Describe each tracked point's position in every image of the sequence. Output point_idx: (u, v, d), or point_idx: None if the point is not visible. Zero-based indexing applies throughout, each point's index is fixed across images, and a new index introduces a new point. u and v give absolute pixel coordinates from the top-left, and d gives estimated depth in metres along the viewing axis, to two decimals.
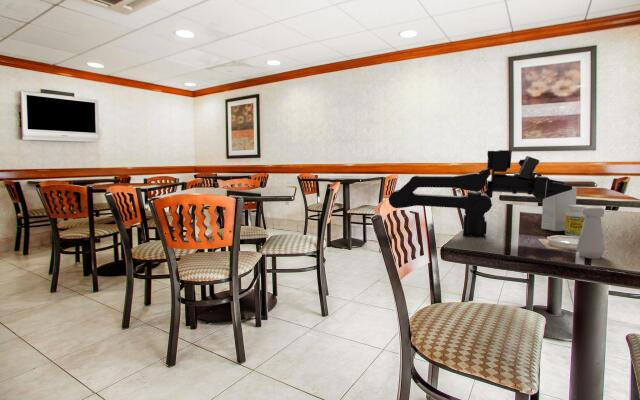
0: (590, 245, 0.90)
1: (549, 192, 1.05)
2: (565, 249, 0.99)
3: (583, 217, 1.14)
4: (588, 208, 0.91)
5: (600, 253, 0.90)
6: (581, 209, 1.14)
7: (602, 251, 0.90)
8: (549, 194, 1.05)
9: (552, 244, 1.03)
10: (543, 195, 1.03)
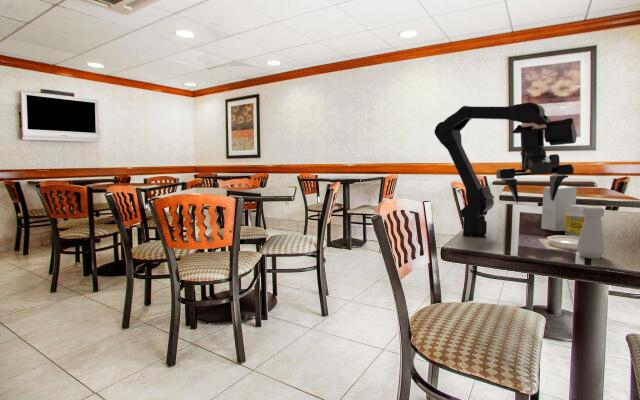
0: (590, 245, 0.90)
1: (508, 182, 1.09)
2: (565, 249, 0.99)
3: (583, 217, 1.14)
4: (588, 208, 0.91)
5: (600, 253, 0.90)
6: (581, 209, 1.14)
7: (602, 251, 0.90)
8: (507, 183, 1.10)
9: (552, 244, 1.03)
10: (496, 177, 1.10)
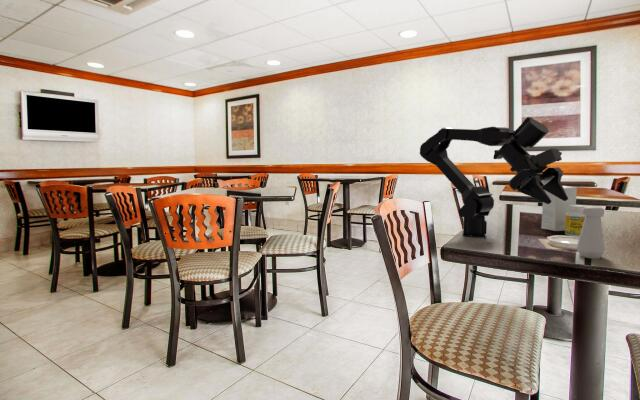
0: (590, 245, 0.90)
1: (527, 190, 0.98)
2: (565, 249, 0.99)
3: (583, 217, 1.14)
4: (588, 208, 0.91)
5: (600, 253, 0.90)
6: (581, 209, 1.14)
7: (602, 251, 0.90)
8: (525, 191, 0.98)
9: (552, 244, 1.03)
10: (514, 186, 0.98)
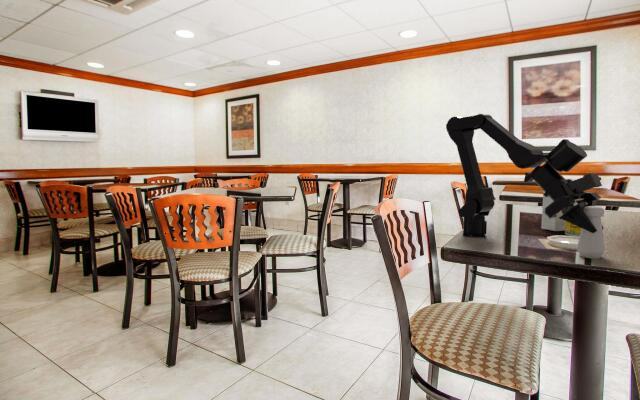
0: (590, 245, 0.90)
1: (569, 217, 0.92)
2: (565, 249, 0.99)
3: None
4: (588, 208, 0.91)
5: (600, 253, 0.90)
6: None
7: (602, 251, 0.90)
8: (567, 219, 0.93)
9: (552, 244, 1.03)
10: (551, 215, 0.91)
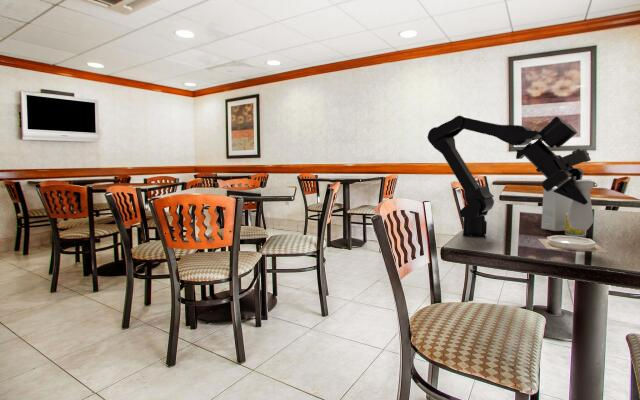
0: (582, 216, 0.96)
1: (562, 190, 0.98)
2: (565, 249, 0.99)
3: None
4: (580, 181, 0.96)
5: (590, 223, 0.96)
6: None
7: (592, 221, 0.96)
8: (560, 192, 0.98)
9: (552, 244, 1.03)
10: (549, 188, 0.95)
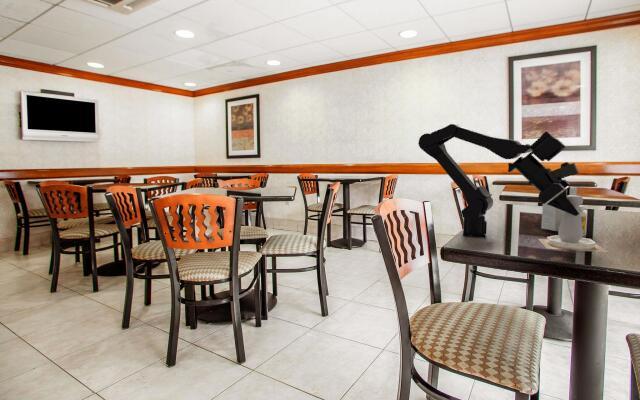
0: (573, 230, 1.01)
1: (555, 203, 1.01)
2: (565, 249, 0.99)
3: (583, 217, 1.14)
4: (571, 197, 1.01)
5: (580, 236, 1.01)
6: (581, 209, 1.14)
7: (582, 235, 1.01)
8: (553, 204, 1.01)
9: (552, 244, 1.03)
10: (545, 200, 0.98)
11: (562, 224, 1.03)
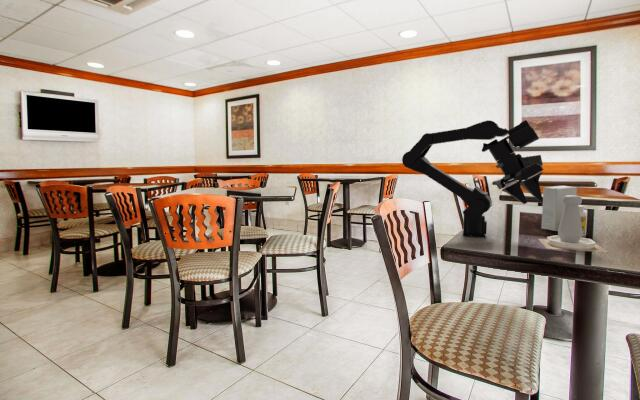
0: (573, 230, 1.01)
1: (528, 183, 1.05)
2: (565, 249, 0.99)
3: (583, 217, 1.14)
4: (569, 197, 1.01)
5: (580, 236, 1.01)
6: (581, 209, 1.14)
7: (581, 234, 1.01)
8: (526, 184, 1.05)
9: (552, 244, 1.03)
10: (527, 176, 1.02)
11: (562, 224, 1.03)
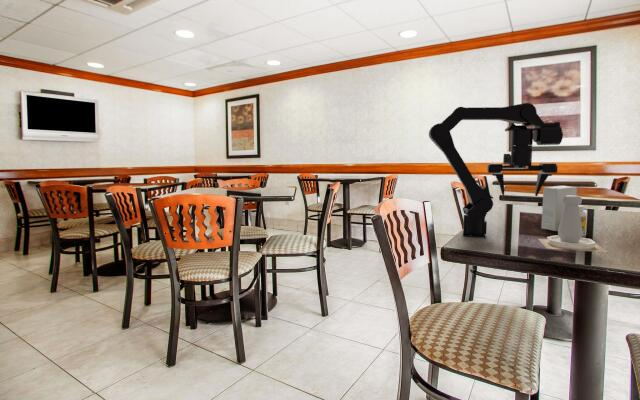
0: (573, 230, 1.01)
1: None
2: (565, 249, 0.99)
3: (583, 217, 1.14)
4: (569, 197, 1.01)
5: (580, 236, 1.01)
6: (581, 209, 1.14)
7: (581, 234, 1.01)
8: None
9: (552, 244, 1.03)
10: (556, 171, 1.10)
11: (562, 224, 1.03)
